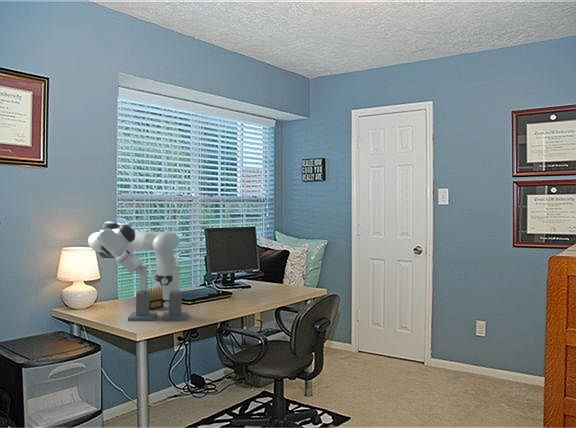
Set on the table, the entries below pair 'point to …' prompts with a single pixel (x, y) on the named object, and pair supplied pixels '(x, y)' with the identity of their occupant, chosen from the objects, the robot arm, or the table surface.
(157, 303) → the ammunition clip
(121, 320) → the table surface
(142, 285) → the left jack column
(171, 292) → the right jack stand
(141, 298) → the base
